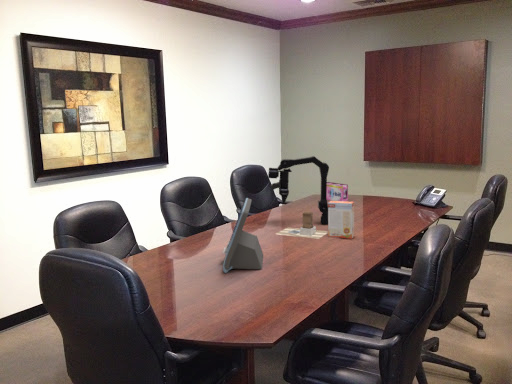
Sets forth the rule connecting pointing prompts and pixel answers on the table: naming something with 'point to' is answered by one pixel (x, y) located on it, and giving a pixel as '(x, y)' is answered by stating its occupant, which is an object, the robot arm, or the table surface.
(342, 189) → the gum box
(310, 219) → the walnut block
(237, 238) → the touchscreen device
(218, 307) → the table surface
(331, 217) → the cracker box
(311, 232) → the sleeve
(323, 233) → the board
